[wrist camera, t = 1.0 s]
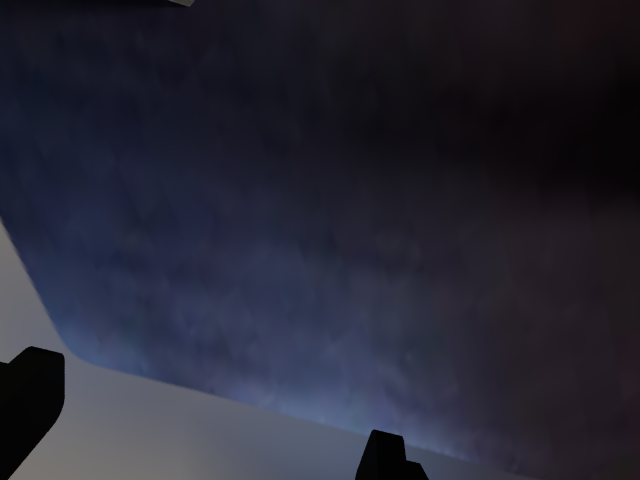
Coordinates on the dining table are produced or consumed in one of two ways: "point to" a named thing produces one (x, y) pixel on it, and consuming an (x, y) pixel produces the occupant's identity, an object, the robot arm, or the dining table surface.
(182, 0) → the base block
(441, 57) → the dining table surface
